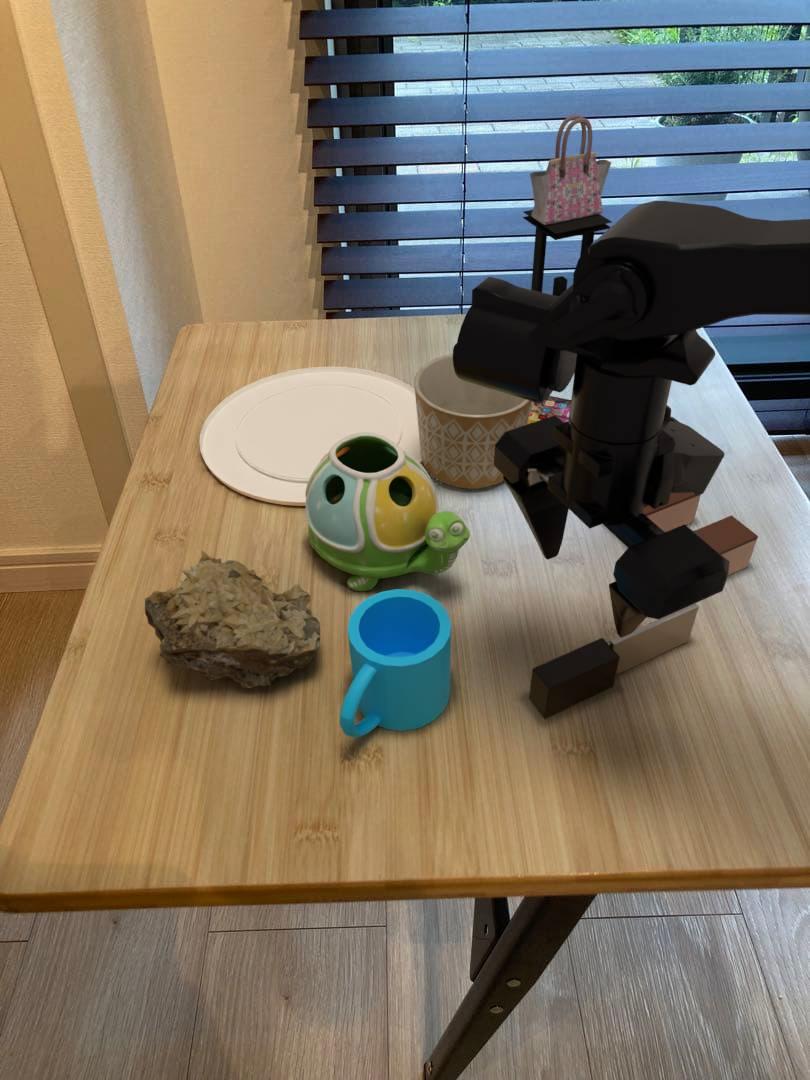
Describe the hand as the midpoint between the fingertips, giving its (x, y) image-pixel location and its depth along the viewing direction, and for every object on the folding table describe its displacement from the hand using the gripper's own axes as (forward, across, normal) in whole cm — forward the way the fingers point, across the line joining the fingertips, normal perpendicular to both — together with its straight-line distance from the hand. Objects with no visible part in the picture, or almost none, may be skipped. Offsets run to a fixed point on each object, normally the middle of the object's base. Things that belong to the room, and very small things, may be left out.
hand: (586, 593), depth 63 cm
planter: (+12, +32, -9) cm, 35 cm away
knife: (+12, 0, -5) cm, 13 cm away
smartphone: (+12, +34, -22) cm, 42 cm away
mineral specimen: (+12, +18, +22) cm, 31 cm away
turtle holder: (+12, +23, +6) cm, 27 cm away
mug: (+12, +6, +14) cm, 20 cm away
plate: (+12, +46, +4) cm, 48 cm away
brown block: (+12, +6, -20) cm, 24 cm away
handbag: (+12, +46, -30) cm, 56 cm away
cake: (+12, +16, -20) cm, 28 cm away
